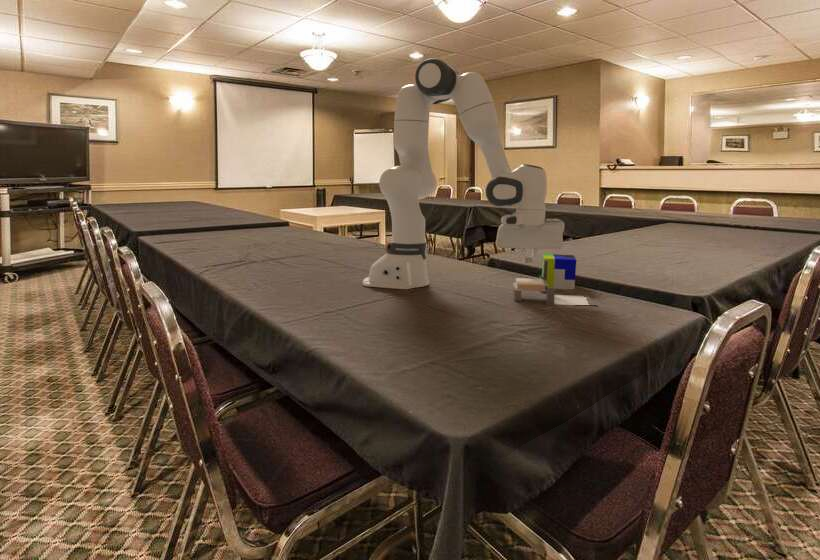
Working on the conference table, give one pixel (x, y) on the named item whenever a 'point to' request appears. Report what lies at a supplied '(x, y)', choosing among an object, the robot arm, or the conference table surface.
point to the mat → (570, 300)
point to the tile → (530, 283)
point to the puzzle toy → (560, 271)
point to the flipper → (543, 279)
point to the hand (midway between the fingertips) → (528, 262)
